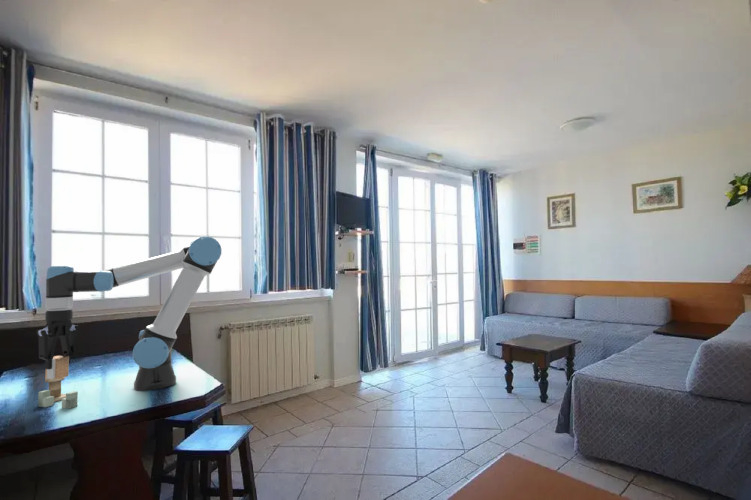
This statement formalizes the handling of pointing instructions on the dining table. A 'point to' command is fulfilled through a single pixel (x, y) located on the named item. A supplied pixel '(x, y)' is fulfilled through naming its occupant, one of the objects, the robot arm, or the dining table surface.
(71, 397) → the pair of stepped blocks
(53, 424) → the dining table surface
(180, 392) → the dining table surface
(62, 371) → the tan tall block
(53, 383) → the bobbin
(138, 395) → the dining table surface
